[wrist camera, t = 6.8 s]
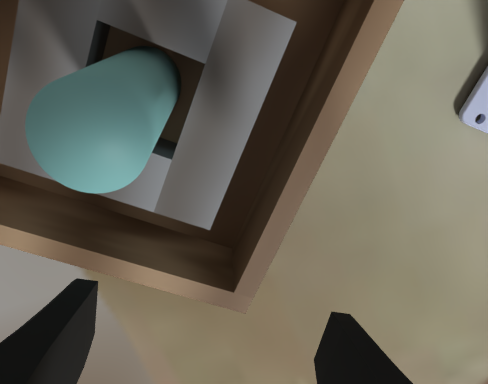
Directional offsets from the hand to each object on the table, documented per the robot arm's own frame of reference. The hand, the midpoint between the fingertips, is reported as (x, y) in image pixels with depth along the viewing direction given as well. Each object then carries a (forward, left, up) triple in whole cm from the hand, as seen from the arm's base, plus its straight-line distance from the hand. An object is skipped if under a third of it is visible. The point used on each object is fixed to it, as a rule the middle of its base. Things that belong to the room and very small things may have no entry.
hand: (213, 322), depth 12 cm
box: (+5, -4, -10) cm, 12 cm away
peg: (+5, -4, -10) cm, 12 cm away
